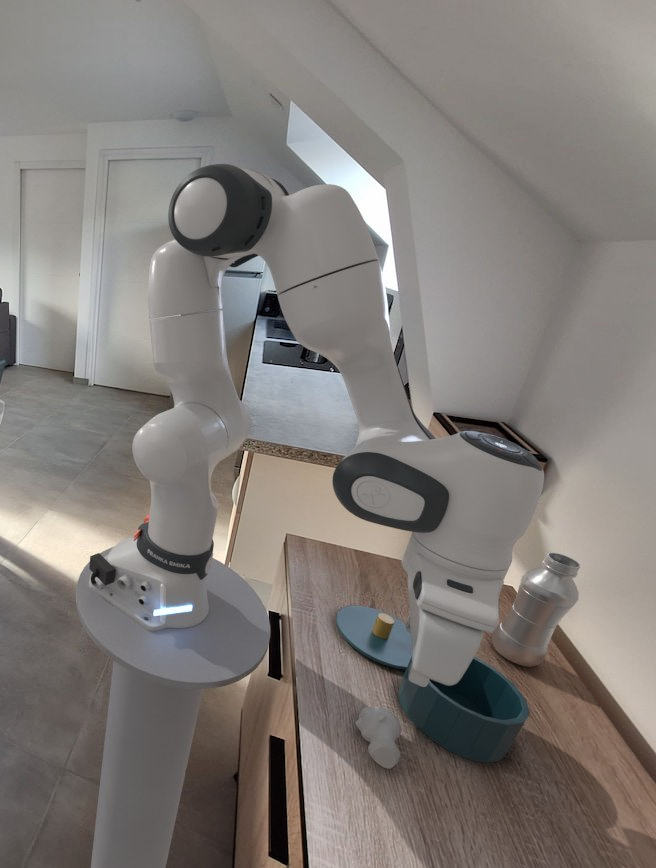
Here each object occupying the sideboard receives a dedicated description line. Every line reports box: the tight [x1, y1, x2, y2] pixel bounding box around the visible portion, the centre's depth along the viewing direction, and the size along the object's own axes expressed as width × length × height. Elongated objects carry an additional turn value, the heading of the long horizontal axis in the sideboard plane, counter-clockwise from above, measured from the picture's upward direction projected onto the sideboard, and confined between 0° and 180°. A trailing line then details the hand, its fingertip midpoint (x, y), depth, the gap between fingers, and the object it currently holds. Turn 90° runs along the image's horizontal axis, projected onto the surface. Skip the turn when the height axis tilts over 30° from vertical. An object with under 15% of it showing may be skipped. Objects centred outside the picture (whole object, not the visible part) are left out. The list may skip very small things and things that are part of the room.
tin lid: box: [335, 604, 412, 671], centre depth 79 cm, size 13×13×5 cm
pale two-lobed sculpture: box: [355, 705, 402, 770], centre depth 62 cm, size 4×8×5 cm
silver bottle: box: [491, 552, 581, 668], centre depth 74 cm, size 6×7×20 cm
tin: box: [397, 655, 531, 764], centre depth 65 cm, size 12×12×8 cm
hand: (414, 653), depth 58 cm, fingers open, 8 cm apart
